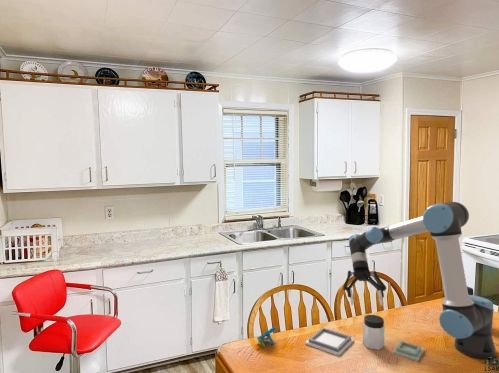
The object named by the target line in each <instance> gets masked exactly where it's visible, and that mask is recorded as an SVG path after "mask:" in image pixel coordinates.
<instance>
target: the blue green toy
mask: <svg viewBox="0 0 499 373" xmlns="http://www.w3.org/2000/svg"><path fill="white" fill-rule="evenodd" d="M277 329H278V327H277V326H273V327H271V328H270V329H269V330H266V331H265V332H264V333H262V334H261V335H259V336H258V337H257V338H256V339H257V341H258V342H259V343H260V344H262V346H263V348H265V347H266V345H265V343H264V342H265V341H267V339H268V340H269V341H270V343H271V345H273V344H275V342H274V340H273V339H272V335H271V334H273V333H274V332H275V331H276V330H277Z"/></svg>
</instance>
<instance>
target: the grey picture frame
mask: <svg viewBox="0 0 499 373" xmlns="http://www.w3.org/2000/svg"><path fill="white" fill-rule="evenodd" d="M354 341H355V338H352V336H351V335H348V334H345V333H342V332H339V331H337V330H331V329H329V328H327V327H321V328H320V329H318V331H316V332H315V333H314V334H313V335H312V336H310V337H309V338H308V339H307V340H306V341H305V345H307V346H310V347H313V348H314V349H315V348H316V349H318V350H321V351H324V352H326V353H329V354H332V355H335V356H338V357H340V356H341V355H342V354H343V353H344V352H345V351H346V350H347V349H348V348H349V347H350V346H351V344H353V343H354Z"/></svg>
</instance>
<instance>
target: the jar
mask: <svg viewBox="0 0 499 373" xmlns="http://www.w3.org/2000/svg"><path fill="white" fill-rule="evenodd" d="M363 320H364V321H363V324H362V344H363V345H364V346H365V347H366V348H367V349H371V350H377V351H378V350H379V351H380V350H381V349H382V348H383V347H384V346H385V329H386V328H385V322H384V318H383V317H382V316H379V315H376V314H367V315H365V316H364V318H363Z"/></svg>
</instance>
